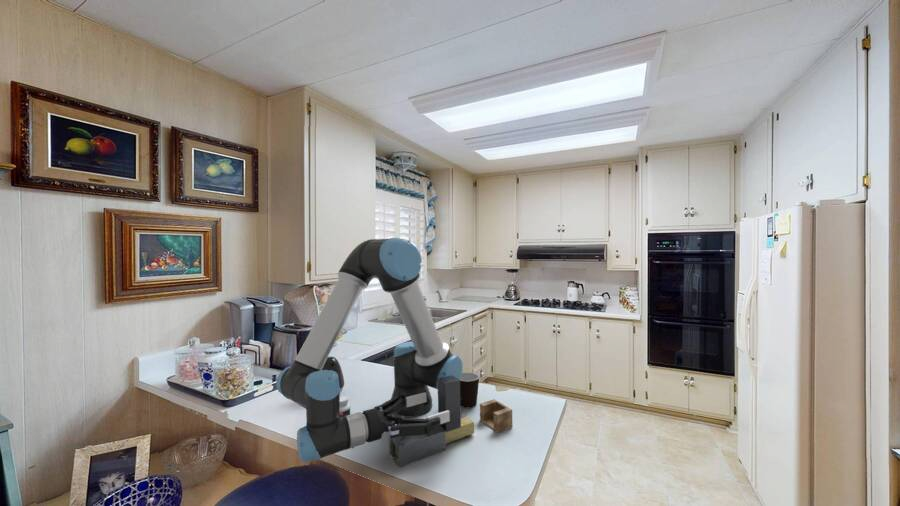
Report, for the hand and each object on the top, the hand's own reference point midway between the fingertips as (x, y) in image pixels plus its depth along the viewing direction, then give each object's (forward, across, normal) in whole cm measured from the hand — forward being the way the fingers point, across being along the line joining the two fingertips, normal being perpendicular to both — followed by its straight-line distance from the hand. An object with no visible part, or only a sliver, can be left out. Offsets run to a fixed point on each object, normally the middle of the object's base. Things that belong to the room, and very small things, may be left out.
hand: (436, 405), depth 97 cm
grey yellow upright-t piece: (0, 0, -11) cm, 11 cm away
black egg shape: (-19, -52, -12) cm, 57 cm away
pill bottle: (-21, -26, -12) cm, 36 cm away
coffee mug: (+23, -18, -12) cm, 32 cm away
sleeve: (-6, 0, -12) cm, 13 cm away
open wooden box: (+22, -1, -12) cm, 25 cm away
